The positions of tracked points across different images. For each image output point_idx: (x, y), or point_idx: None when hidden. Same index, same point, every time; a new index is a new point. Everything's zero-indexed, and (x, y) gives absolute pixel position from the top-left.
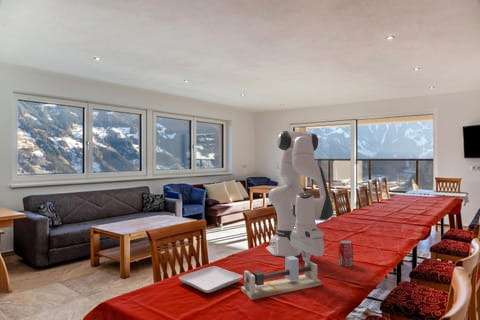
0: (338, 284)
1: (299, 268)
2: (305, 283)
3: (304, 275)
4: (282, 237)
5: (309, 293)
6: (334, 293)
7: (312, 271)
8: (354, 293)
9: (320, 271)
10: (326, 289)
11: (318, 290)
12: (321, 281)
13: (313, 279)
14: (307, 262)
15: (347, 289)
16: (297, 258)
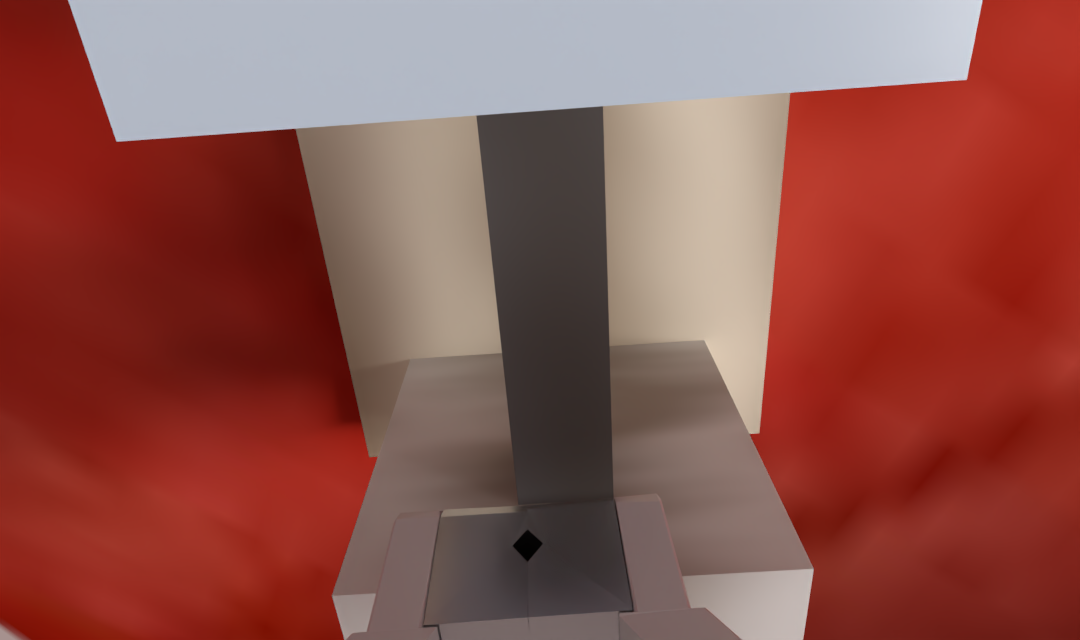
0: (331, 600)
1: (540, 192)
2: (352, 152)
3: (721, 341)
4: None
5: (72, 47)
6: (40, 415)
7: (443, 456)
8: (23, 608)
9: (823, 635)
10: (199, 393)
11: (181, 267)
12: (368, 451)
13: (430, 368)
14: None
15: (155, 606)
16: (182, 85)
